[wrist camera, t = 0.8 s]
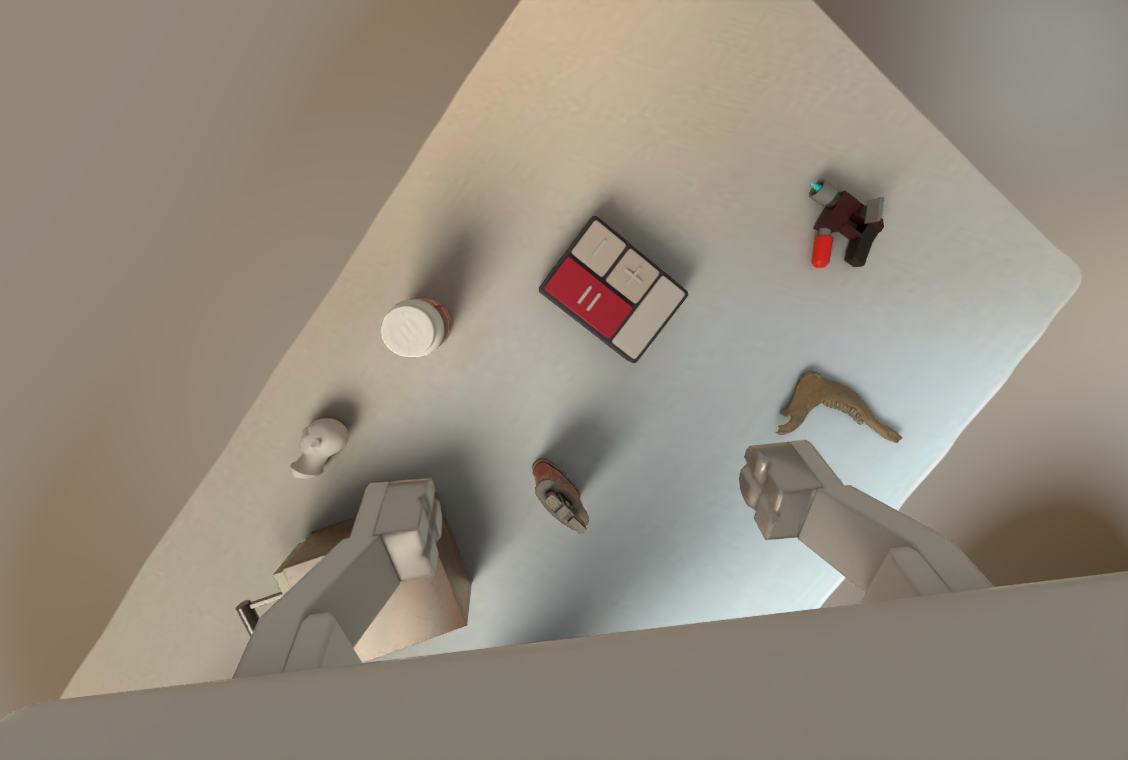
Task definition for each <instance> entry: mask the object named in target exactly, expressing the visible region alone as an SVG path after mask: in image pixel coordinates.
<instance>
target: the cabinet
mask: <svg viewBox="0 0 1128 760" xmlns="http://www.w3.org/2000/svg"><path fill="white" fill-rule="evenodd" d="M434 497H435V498H436V499H438V496H437V494H436V491H435V494H434ZM438 500H439V499H438ZM439 502H440V501H439ZM440 506H441V504H440ZM441 512H442V531H441V537H440V539H439V540H438V541H437V542H436V546H437V549H438V552H439V553H438V560H437V567H436V574H435V577H429V578H422V579H415V580H408V581H401V582H400V585H399V586H398V587H397V589H396V590H395V592H394V593H393V594H392V596H391V597H390V598H389V600H388V601H387V603H386V604H385V605H384V607H383V608H382V609H381V611H380V612H379V614H378V615H377V616H376V618H375V619H374V620H373V622H372V623H371V625H370V626H369V627H368V629H367V630H366V631H365V633H364V634H363V636H362V637H361V638H360V640H359V641H358V642H357V644H356V645H355V647H354V650H355V652H356V653H357V655H358V657H359V658H360V660H361V661H362V663H363V662H366V661H369V660H371V659H374V658H377V657H380V656H383V655H385V654H388V653H391V652H394V651H397V650H399V649H402V648H405V647H408V646H411V645H413V644H416V643H419V642H422V641H425V640H427V639H430V638H433V637H436V636H439V635H441V634H444V633H447V632H450V631H453V630H455V629H458V628H461V627H464V626H467V622H468V612H469V603H470V594H471V584H472V583H471V580H470V578H469V575H468V573H467V570H466V567H465V565H464V562H463V560H462V557H461V555H460V552H459V550H458V547H457V545H456V542H455V539H454V537H453V534H452V532H451V529H450V527H449V524H448V522H447V519H446V517H445V514H444V511H443V509H442V506H441ZM355 520H356V518H353V519H350V520H347V521H344V522H341V523H338V524H335V525H332V526H329V527H326V528H323V529H320V530H317V531H314V532H312V533H311V535H310V536H309V537H308V538H307V540H306V541H305V542H304V543H303V545H302V546H301V547H300V548H299V550H298V551H297V552H296V553H295V555H294V556H293V557H292V558H291V560H290V561H289V562H288V563H287V565H286V566H285V567H284V568H283V572H284V574H285V576H286V578H287V580H288V582H289V584H290V586H291V588H292V587H293V586H294V585H295V584H296V583H297V582H298V581H299V580H300V579H301V578H302V577H303V576H305V575H306V574H307V573H308V572H309V571H310V570H311V569H312V568H313V567H314V566H315V565H316V564H317V563H318V562H319V561H320V560H321V559H323V558H324V557H325V556H326V555H327V554H328V553H329V552H330V551H331V550H332V549H333V548H334V547H335V546H336V545H337V544H338V543H339V542H341V541H342V540H343V539H346V538H350V535H351V532H352V529H353V526H354V523H355Z"/></svg>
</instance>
